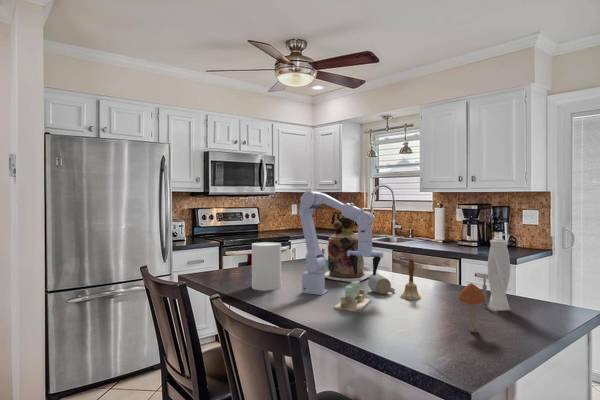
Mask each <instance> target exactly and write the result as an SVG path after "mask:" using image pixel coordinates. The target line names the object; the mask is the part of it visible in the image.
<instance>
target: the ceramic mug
mask: <svg viewBox="0 0 600 400" xmlns="http://www.w3.org/2000/svg"><path fill="white" fill-rule="evenodd" d="M367 282H368V283H367V285H368V287H369V289H370V290H371V291H372V292H375V293H377V294H378V295H386V294H387V295H388V293H389V292H391V293H395V292H396V289H395V288H393V287H392V284H391V281H390V279H388V278H387V277H385V276H383V275H381V274H379V273H376V275H375V276H373V275H372V276H371V277H369V278H368V281H367Z"/></svg>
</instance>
